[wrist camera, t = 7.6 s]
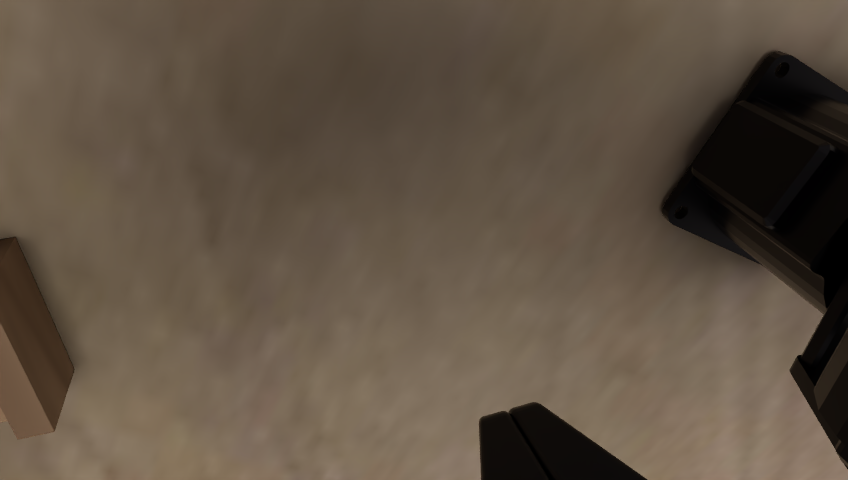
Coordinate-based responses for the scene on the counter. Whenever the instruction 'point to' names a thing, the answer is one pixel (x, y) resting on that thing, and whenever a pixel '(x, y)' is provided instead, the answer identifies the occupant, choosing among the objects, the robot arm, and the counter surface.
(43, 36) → the counter surface
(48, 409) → the wooden tray
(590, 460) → the robot arm
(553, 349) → the counter surface
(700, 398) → the counter surface
